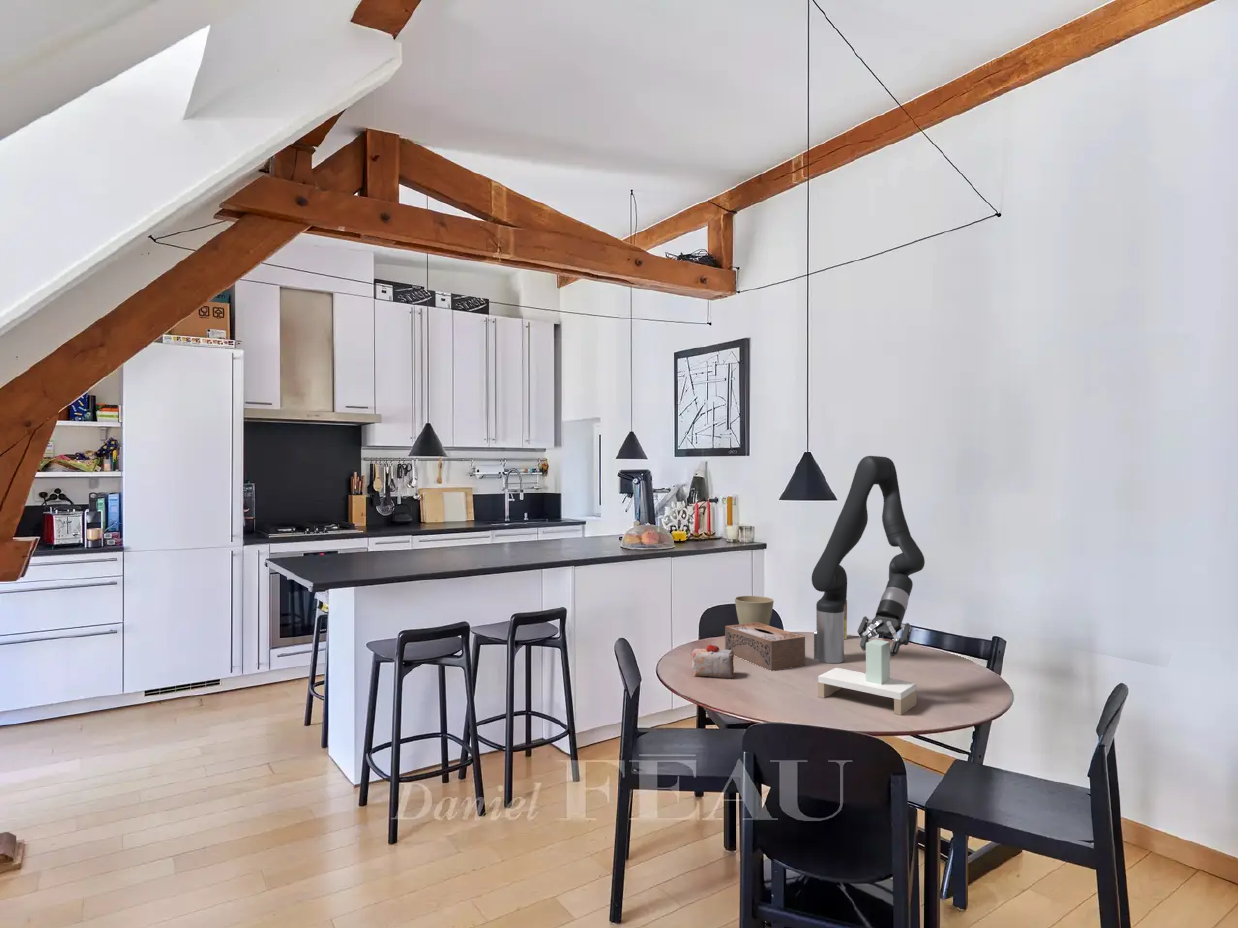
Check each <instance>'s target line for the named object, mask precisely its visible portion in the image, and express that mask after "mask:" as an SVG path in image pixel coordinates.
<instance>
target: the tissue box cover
mask: <svg viewBox="0 0 1238 928" xmlns="http://www.w3.org/2000/svg"><path fill="white" fill-rule="evenodd" d="M724 643H725V645H724V650H733V652H734V655H735V656H737V657H739V658H742V659H744V660H747V661H749V662H748V663H750V662H751V663H750V664H752V663H754V664H753V665H755V664H756V665H755V666H757V665H758V666H757V667H760V666H761V667H760V668H762V667H763V669H765V668H766V669H765V670H768V671H770V670H771V672H774V671H773V670H775V671H780V670H779V669H781V670H785V669H784V668H787V669H791V668H790V667H793V668H797V666H799V667H802V666H801V665H805V666H806V637H805V636H803V635H800V634H797V633H795V632H791V631H787V630H784V629H781V628H778V627H774V626H771V625H769V626H768V625H765V624H762V623H758V622H754V623H746V624H739V623H738V624H732V625H725V626H724ZM737 657H736V658H737ZM739 658H738V659H739ZM742 659H741V660H742ZM744 660H743V661H744ZM747 661H746V662H747Z"/></svg>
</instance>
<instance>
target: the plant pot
mask: <svg viewBox="0 0 1238 928" xmlns="http://www.w3.org/2000/svg"><path fill="white" fill-rule="evenodd" d="M774 601H775V600H774V598H772V597H768V596H767V597H766V596H760V595H759V596H758V595H740V596H735V597H734V603H735V610H736V616H737V621H738V624H746V623H754V622H758V623H762V624H765V625H768V626H770V622H771V619H772V614H773V607H774Z"/></svg>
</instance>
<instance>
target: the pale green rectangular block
mask: <svg viewBox="0 0 1238 928" xmlns="http://www.w3.org/2000/svg"><path fill="white" fill-rule="evenodd" d="M890 642H891V641H887V640H882V639H872V640H869V642H867V643H866V650H865V673H866V682H871V683H876V684H880V685H882V684H884V683H885V682H887V681H889V680H890V677H891V668H890V667H891V664H890V662H891V657H890V656H891V653H890V650H891V647H890V646H891V643H890Z"/></svg>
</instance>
